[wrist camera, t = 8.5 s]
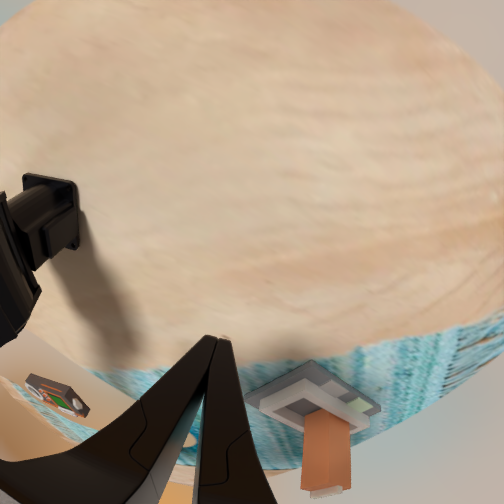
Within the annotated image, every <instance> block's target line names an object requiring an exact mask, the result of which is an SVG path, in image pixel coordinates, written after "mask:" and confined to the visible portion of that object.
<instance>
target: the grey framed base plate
mask: <svg viewBox="0 0 504 504" xmlns="http://www.w3.org/2000/svg"><path fill="white" fill-rule="evenodd" d="M244 401H245V402H246V403H248V404H250V405H252V406H254V407H256V408H257V409H259V411H260V412H262V413H264V414H266V415H268V416H270V417H272V418H274V419H276V420H278V421H280V422H282V423H284V424H286V425H288V426H290V427H292V428H294V429H296V430H298V431H301V432H303V433H304V423H305V416H306V415H308V414H310V413H313V412H315V411H317V410H320V409H322V408H323V409H325V410H327V411H328V412H330V413H332V414H334V415H336V416H338V417H340V418H341V419H343V420H345V421H347V422H349V428H350V435H351V434H354V433H356V432H359V431H361V430H364V429H366V428H369V427H370V420H369V416H372V415H374V414H376V413H378V412H380V411H381V406H380V405H379V404H377V403H376V402H374V401H373V400H371V399H370V398H368V397H366V396H365V395H363V394H362V393H360V392H359V391H357V390H356V389H354V388H353V387H351V386H350V385H348V384H347V383H345V382H344V381H342V380H341V379H339V378H338V377H336V376H335V375H333V374H332V373H331V372H329V371H328V370H326V369H325V368H323V367H322V366H320V365H319V364H317V363H316V362H315V361H313V360H311V361H309V362H307V363H305V364H304V365H302V366H300V367H298V368H296V369H294V370H293V371H291V372H289V373H287V374H285V375H283V376H281V377H280V378H278V379H276V380H274V381H272V382H270V383H268V384H266V385H264V386H262V387H260V388H258V389H256V390H254V391H252V392H250V393H248V394H246V395H244Z"/></svg>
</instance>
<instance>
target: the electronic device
mask: <svg viewBox="0 0 504 504" xmlns="http://www.w3.org/2000/svg"><path fill="white" fill-rule="evenodd" d="M25 386H26V387H27V389H28V390H29V391H30V392H31V393H32V394H34V395H35V396H36V397H38V398H39V399H42V400H43V401H44V402H46V403H48V404H50V405H53V406H55V407H57V408H59V409H60V410H61V411H63V412H65V413H68V414H70V415H72V416H75V417H78V416H81V417H84V418H85V417H86V416H87V415H88V413H89V411H90V408H89V407H88V406H87V405H86V404H85V403H84V402H83V401H82V399H81V398H80V397H79V396H78V395H77V394H76V393H75V392H74V390H73V389H72V388H71V387H70V386H67V385H64V384H61V383H58V382H55V381H52V380H49V379H46V378H43V377H40V376H37V375H35V374H32V373H31V374H30V375H29V376H28V378H27V379H26V383H25Z"/></svg>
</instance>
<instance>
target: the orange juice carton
mask: <svg viewBox="0 0 504 504" xmlns="http://www.w3.org/2000/svg"><path fill="white" fill-rule="evenodd" d="M350 456H351V454H350V428H349V422H347V421H345V420H343V419H341V418H340V417H338V416H336V415H334V414H332V413H330V412H328V411H327V410H325V409H323V408H322V409H320V410H317V411H315V412H313V413H310V414H308V415H306V416H305V423H304V443H303V460H302V475H301V489H303V490H307V491H310V498H313V499H317V498H322V497H327V496H332V495H336V494H341V493H342V491H343V490H347V489H350V488H351V457H350Z"/></svg>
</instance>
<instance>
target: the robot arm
mask: <svg viewBox="0 0 504 504" xmlns="http://www.w3.org/2000/svg"><path fill="white" fill-rule="evenodd" d="M22 182H23V192H21V193H20V194H18V195H16V196H15V197H13V198H12V199H10V200H8V201H6V198H7V197H6V193H5V191H2V192H0V347H2V346H3V345H5V344H6V343H8V342H9V341H11V340H13V339H15V338H17V336H18V335H17V334H18V333H19V332H21V331H22V329H23V328H24V327H25V325H26V323H27V321H28V320H29V318H30V315H31V312H32V310H33V308H34V306H35V304H36V302H37V300H38V298H39V296H40V294H41V292H42V290H41V287H40V285H38V283H37V281H36V279H35V277H34V274H33V272H32V271H36V270H37V269H38V268H39V267H40V266H41V265H42V264H43V263H44V262H45V261H47V260H48V259H49V258H50V259H52V258H53V257H54V256H55V255H56V254H57V253H58V252H59V251H61V250H62V249H63V248H64V247H65V248H68V249H71V250H77V249H78V248H79V247H80V242H79V232H78V220H77V206H76V187H75V184H74V183H73V182H72V181H69V180H64V179H59V178H53V177H48V176H43V175H37V174H32V173H26V174H24V175H23V176H22ZM69 186H70V188H71V189H70V188H69ZM74 244H75V245H74ZM203 397H204V399H203ZM202 400H203V406H202V414H201V423H200V431H199V440H198V449H197V458H196V468H195V478H194V489H193V498H192V504H278V503H277V501H276V499H275V497H274V495H273V493H272V490H271V488H270V486H269V483H268V481H267V479H266V476H265V474H264V471H263V469H262V466H261V464H260V461H259V458H258V456H257V452H256V449H255V445H254V442H253V438H252V433H251V431H250V425H249V421H248V417H247V412H246V408H245V404H244V399H243V395H242V390H241V386H240V381H239V376H238V372H237V367H236V362H235V358H234V353H233V348H232V343H231V341H230V340H226V339H222V338H219V339H218V338H217V337H215V336H211V335H204V336H203V337H202V338H201V339H200V340H199V341H198V342H197V343H196V344H195V345H194V346H193V347H192V348H191V349H190V350H189V351H188V352H187V353H186V354H185V355H184V356H183V357H182V358H181V359H180V360H179V361H178V362H177V363H176V364H175V365H174V366H173V367H172V368H171V369H170V370H168V371H167V372H166V373H165V374H164V375H163V376H162V377H161V378H160V379H159V380H158V381H157V382H156V383H155V384H154V385H153V386H152V387H151V388H150V389H149V390H148V391H147V392H146V393H145V394H143V395H142V396H141V397H140V400H137V401H136V402H135V403H134V404H133V405H132V406H131V407H130V408H129V409H127V410H126V411H125V412H124V413H123V414H122V415H120V416H119V417H118V418H117V419H115V420H114V421H113V422H111V423H110V424H109V425H107V426H106V427H104V428H103V429H101V430H100V431H98V432H97V433H96V434H94V435H93V436H91V437H90V438H88V439H87V440H85V441H84V442H82V443H81V444H79V445H78V446H76V447H74V448H72V449H70V450H68V451H65V452H62V453H58V454H54V455H49V456H44V457H40V458H34V459H30V460H24V461H18V462H8V461H4V460H1V459H0V504H158V503H159V500H160V498H161V496H162V493H163V491H164V489H165V487H166V484H167V482H168V480H169V477H170V475H171V473H172V470H173V468H174V466H175V463H176V461H177V459H178V456H179V454H180V452H181V449H182V447H183V445H184V442H185V440H186V438H187V435H188V433H189V431H190V428H191V426H192V424H193V421H194V419H195V417H196V414H197V412H198V409H199V407H200V405H201V402H202Z"/></svg>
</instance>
